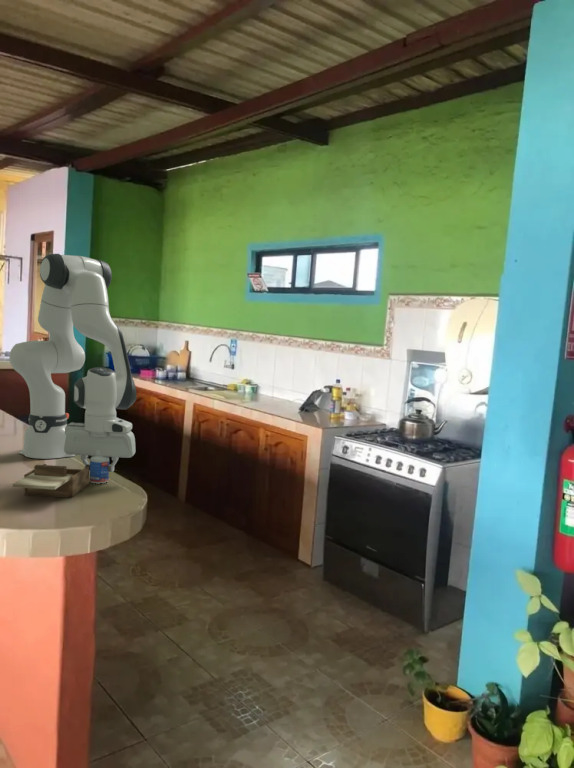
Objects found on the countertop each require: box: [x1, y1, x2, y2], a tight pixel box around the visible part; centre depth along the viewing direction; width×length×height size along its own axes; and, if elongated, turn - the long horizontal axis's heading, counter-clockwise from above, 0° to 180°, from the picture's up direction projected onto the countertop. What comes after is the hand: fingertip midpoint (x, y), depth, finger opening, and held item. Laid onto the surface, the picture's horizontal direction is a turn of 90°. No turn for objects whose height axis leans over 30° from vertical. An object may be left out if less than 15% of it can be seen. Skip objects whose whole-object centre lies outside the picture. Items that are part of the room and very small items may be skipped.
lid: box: [11, 464, 74, 490], centre depth 165 cm, size 13×11×3 cm
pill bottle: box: [89, 450, 110, 485], centre depth 185 cm, size 6×5×10 cm
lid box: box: [23, 463, 90, 499], centre depth 175 cm, size 13×13×6 cm
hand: (99, 470), depth 186 cm, fingers closed on pill bottle, 5 cm apart
